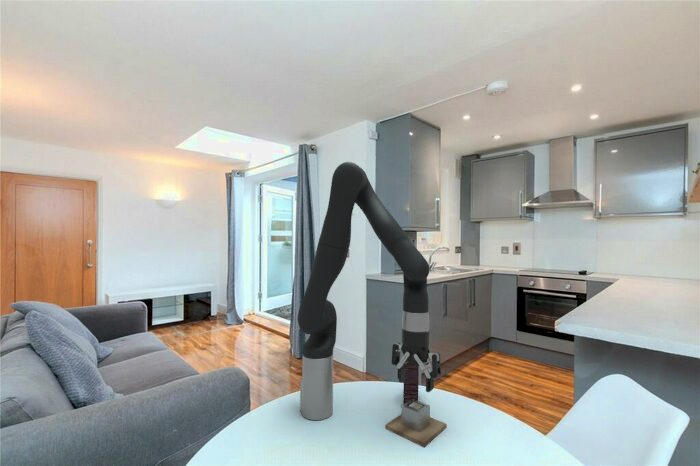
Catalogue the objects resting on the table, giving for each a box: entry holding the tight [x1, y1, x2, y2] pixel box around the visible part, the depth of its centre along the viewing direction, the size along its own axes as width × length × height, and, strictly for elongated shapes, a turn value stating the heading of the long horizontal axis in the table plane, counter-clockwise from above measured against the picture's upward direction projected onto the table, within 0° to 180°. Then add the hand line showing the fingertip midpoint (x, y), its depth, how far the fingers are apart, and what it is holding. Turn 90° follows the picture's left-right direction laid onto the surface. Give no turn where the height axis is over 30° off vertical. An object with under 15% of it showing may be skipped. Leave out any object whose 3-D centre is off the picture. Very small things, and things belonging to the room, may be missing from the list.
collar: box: [400, 399, 431, 433], centre depth 87 cm, size 6×6×5 cm
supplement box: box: [402, 362, 420, 405], centre depth 102 cm, size 9×5×16 cm, turn 168°
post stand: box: [384, 402, 447, 448], centre depth 87 cm, size 12×12×6 cm
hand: (415, 386), depth 88 cm, fingers open, 8 cm apart
